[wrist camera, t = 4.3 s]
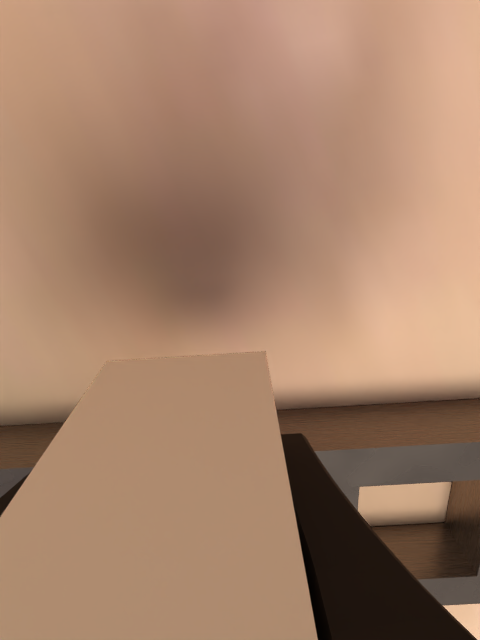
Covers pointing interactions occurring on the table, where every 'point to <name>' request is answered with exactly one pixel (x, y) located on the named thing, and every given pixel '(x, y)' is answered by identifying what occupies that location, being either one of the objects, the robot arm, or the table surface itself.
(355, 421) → the grey metal slotted frame
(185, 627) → the peg
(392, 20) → the table surface
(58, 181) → the table surface
